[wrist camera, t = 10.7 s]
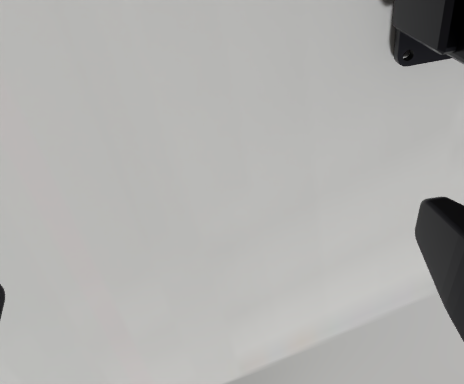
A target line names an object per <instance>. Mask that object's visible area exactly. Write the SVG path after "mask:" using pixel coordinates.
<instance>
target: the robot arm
mask: <svg viewBox="0 0 464 384" xmlns="http://www.w3.org/2000/svg"><path fill="white" fill-rule="evenodd" d="M392 24H393V26H394V27H395V28H396V37H395V48H394V59H395V61H396V62H397V63H398V64H400V65H402V66H411V65H417V64H422V63H428V62H433V61H439V60H444V59H450V58H454V59H455V60H457V61H459V62H461V63H462V64H464V0H394V9H393V20H392ZM407 50H410V54H409V55H408V56H407V57H406V58H403V54H404V53H405V52H406V51H407ZM415 236H416V240H417V243H418V245H419V248H420V250H421V252H422V255H423V257H424V260H425V262H426V264H427V267H428V269H429V272H430V274H431V276H432V279H433V281H434V283H435V286H436V288H437V291H438V293H439V295H440V298H441V299H442V302H443V304H444V307H445V309H446V310H447V312H448V314H449V316H450V318H451V320H452V322H453V323H454V325H455V327H456V329H457V331H458V332H459V334H460V336H461V338H462V339H463V341H464V205H462V204H459V203H457V202H455V201H453V200H451V199H449V198H447V197H436V198H429V199H425V200H423V201H422V203H421V205H420V209H419V213H418V218H417V223H416V227H415ZM4 302H5V292H4V289H3V287H2V286H1V284H0V319H1V315H2V310H3V306H4Z"/></svg>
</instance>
